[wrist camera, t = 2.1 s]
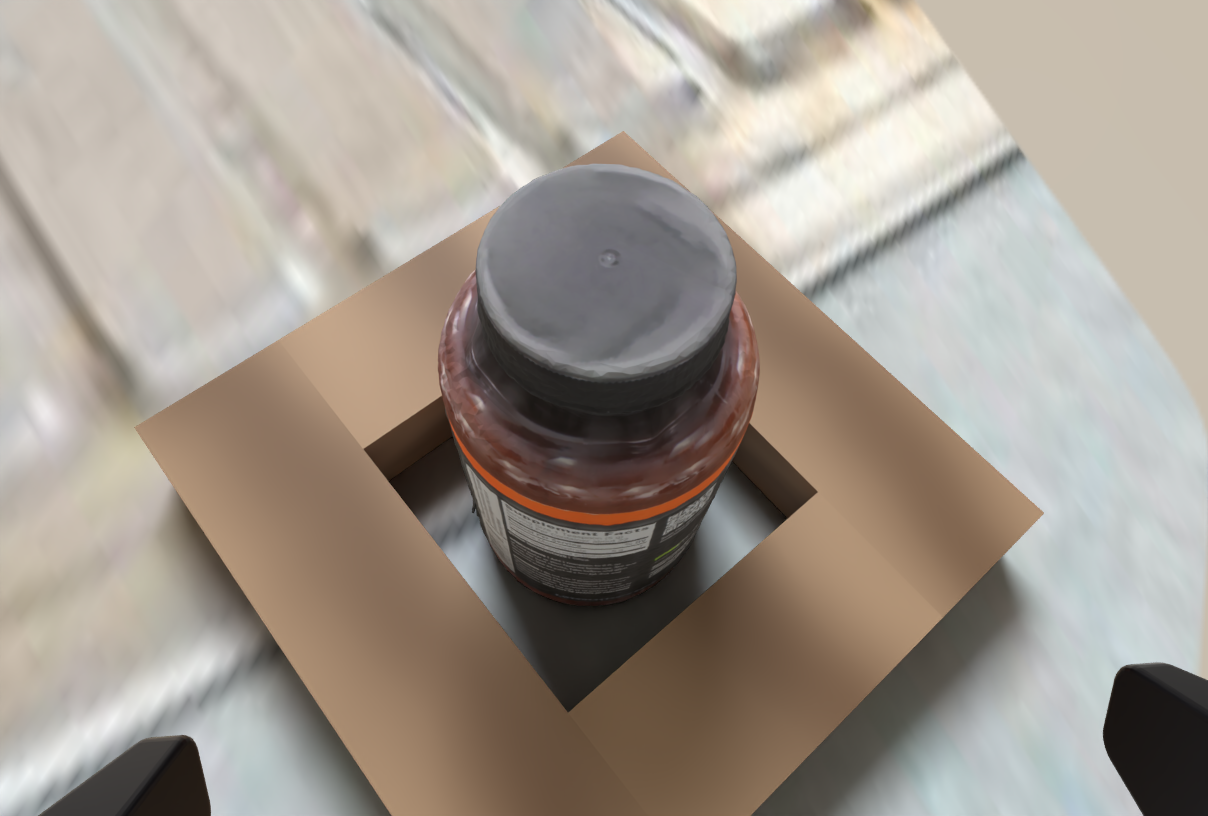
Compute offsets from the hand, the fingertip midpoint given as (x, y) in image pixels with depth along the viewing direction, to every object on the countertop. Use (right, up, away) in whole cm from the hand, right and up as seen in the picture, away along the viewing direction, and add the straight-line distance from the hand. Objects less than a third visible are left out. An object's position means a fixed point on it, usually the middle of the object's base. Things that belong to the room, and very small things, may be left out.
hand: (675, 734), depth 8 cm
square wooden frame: (-1, +1, +14) cm, 14 cm away
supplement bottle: (-1, 0, +15) cm, 15 cm away
